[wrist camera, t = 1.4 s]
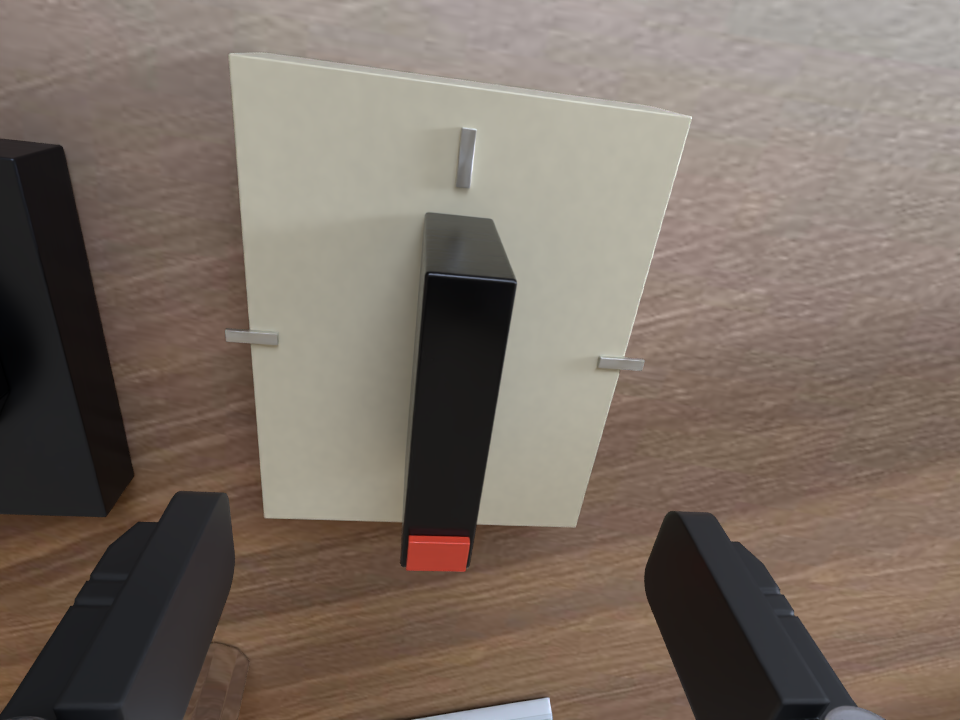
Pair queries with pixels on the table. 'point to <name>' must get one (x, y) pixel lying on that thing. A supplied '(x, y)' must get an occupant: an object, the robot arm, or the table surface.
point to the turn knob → (453, 387)
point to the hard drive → (503, 712)
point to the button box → (52, 350)
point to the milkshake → (219, 685)
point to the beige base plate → (397, 260)
